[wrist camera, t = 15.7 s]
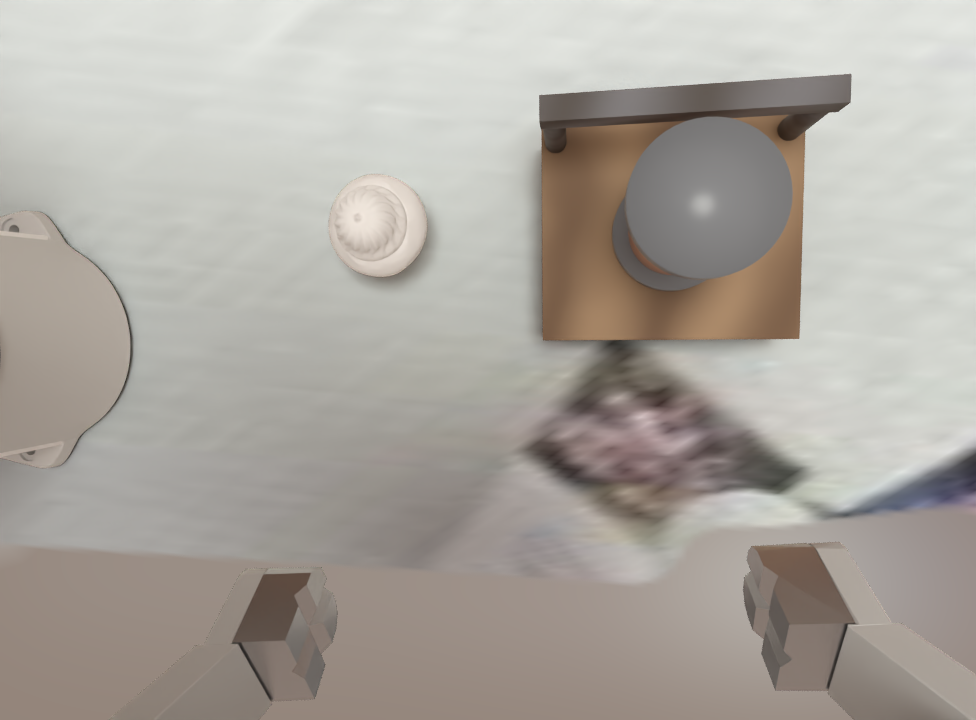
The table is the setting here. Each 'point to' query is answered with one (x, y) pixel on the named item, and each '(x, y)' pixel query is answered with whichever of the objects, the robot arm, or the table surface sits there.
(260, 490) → the table surface
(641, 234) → the cord spool
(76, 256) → the robot arm
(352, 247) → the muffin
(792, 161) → the shelf stand
